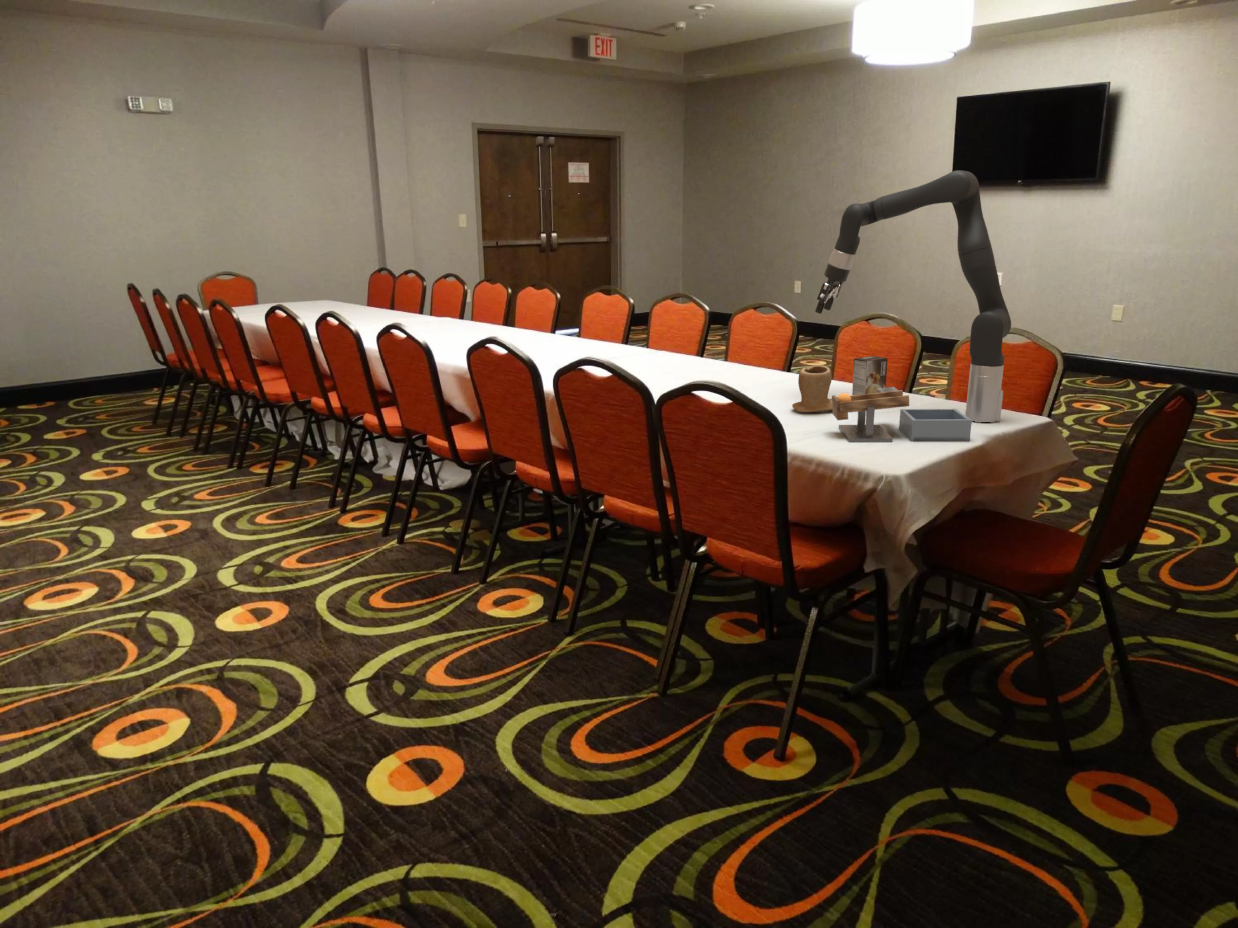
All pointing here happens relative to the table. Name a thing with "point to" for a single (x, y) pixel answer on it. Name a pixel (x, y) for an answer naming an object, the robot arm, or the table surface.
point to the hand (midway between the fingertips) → (822, 311)
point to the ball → (844, 397)
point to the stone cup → (814, 389)
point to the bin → (935, 425)
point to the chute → (870, 402)
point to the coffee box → (869, 374)
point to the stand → (865, 429)
